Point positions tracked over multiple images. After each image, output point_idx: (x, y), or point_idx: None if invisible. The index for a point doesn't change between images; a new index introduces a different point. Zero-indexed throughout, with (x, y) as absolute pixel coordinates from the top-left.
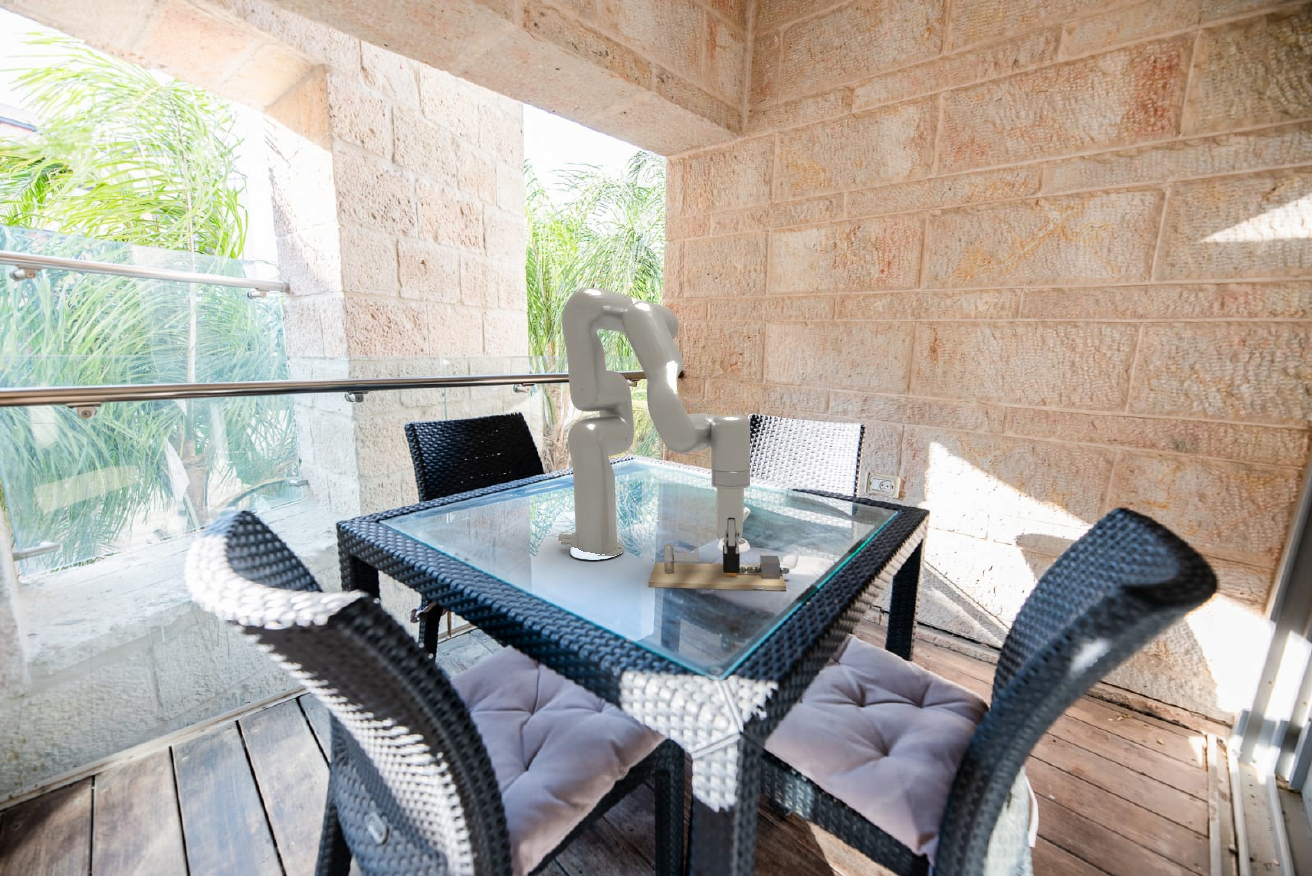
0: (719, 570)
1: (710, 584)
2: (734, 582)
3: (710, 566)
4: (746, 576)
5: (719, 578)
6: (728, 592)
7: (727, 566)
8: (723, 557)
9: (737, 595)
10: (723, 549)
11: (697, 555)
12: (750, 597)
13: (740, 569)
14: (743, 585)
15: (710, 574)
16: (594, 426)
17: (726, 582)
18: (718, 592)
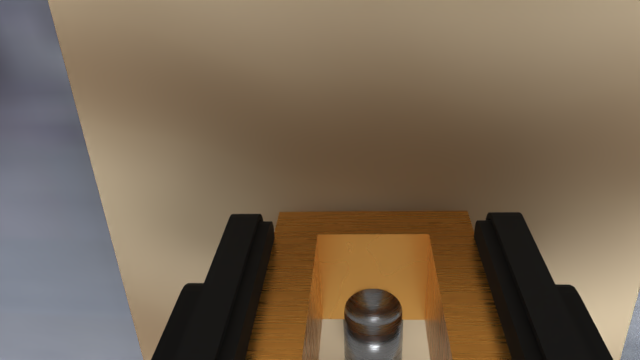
0: (463, 140)
1: (64, 59)
2: (160, 266)
3: (606, 34)
4: (320, 350)
5: (229, 144)
6: (67, 195)
7: (181, 299)
8: (189, 332)
9: (34, 254)
10: (542, 346)
11: None
12: (34, 327)
13: (347, 351)
14: (137, 319)
15: (331, 48)
16: None
17: (143, 206)
18: (37, 119)
